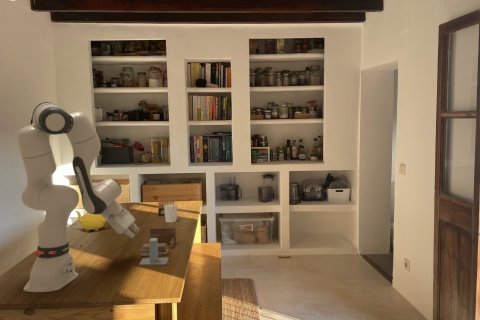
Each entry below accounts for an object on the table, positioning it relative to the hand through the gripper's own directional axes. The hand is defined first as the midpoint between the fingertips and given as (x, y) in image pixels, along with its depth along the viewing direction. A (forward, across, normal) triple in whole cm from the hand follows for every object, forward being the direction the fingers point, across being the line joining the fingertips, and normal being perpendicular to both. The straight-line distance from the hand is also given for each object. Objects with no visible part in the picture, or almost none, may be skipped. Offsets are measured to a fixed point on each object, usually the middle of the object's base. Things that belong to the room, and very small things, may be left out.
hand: (136, 234), depth 197 cm
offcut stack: (+13, +11, +4) cm, 18 cm away
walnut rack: (+14, +24, +3) cm, 28 cm away
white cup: (+12, +73, +4) cm, 74 cm away
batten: (+14, -1, +3) cm, 15 cm away
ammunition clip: (+8, +88, +7) cm, 89 cm away
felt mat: (+15, -1, +3) cm, 15 cm away
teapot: (-18, +59, +35) cm, 71 cm away
